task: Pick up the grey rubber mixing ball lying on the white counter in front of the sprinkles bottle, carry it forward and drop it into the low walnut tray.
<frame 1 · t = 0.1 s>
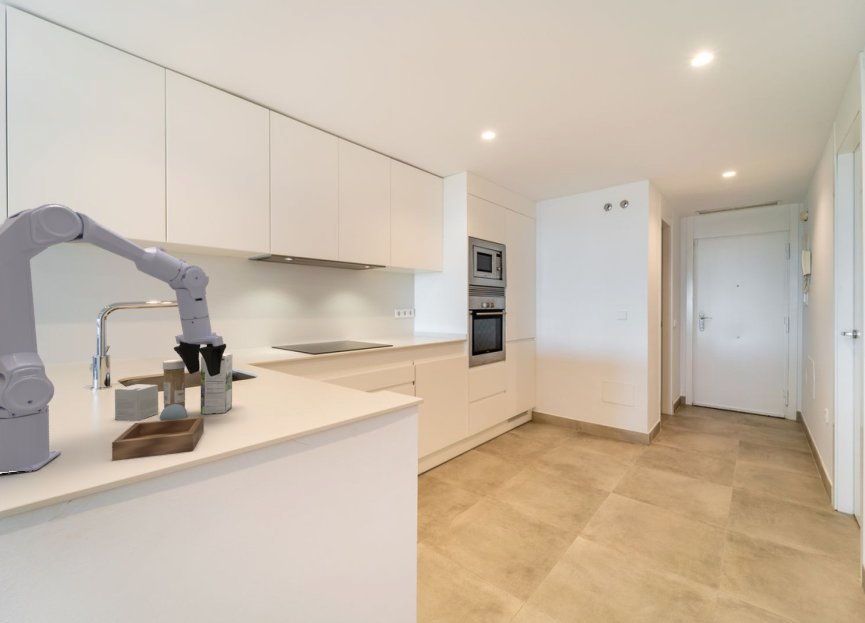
hand: (204, 373, 92), 10 cm above the counter, tool pointing down, fingers open, 7 cm apart
syrup box: (217, 411, 99), on the counter
skincare box: (137, 418, 93), on the counter
tray: (162, 444, 75), on the counter
sprinkles bottle: (174, 416, 94), on the counter
ball: (173, 427, 85), on the counter
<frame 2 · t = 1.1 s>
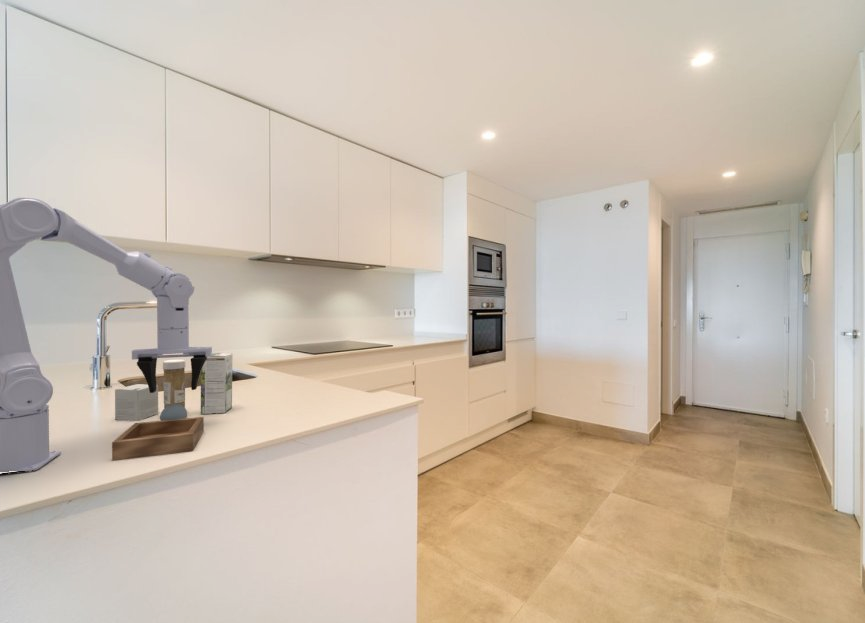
hand: (173, 390, 85), 8 cm above the counter, tool pointing down, fingers open, 7 cm apart
nothing on the counter moved.
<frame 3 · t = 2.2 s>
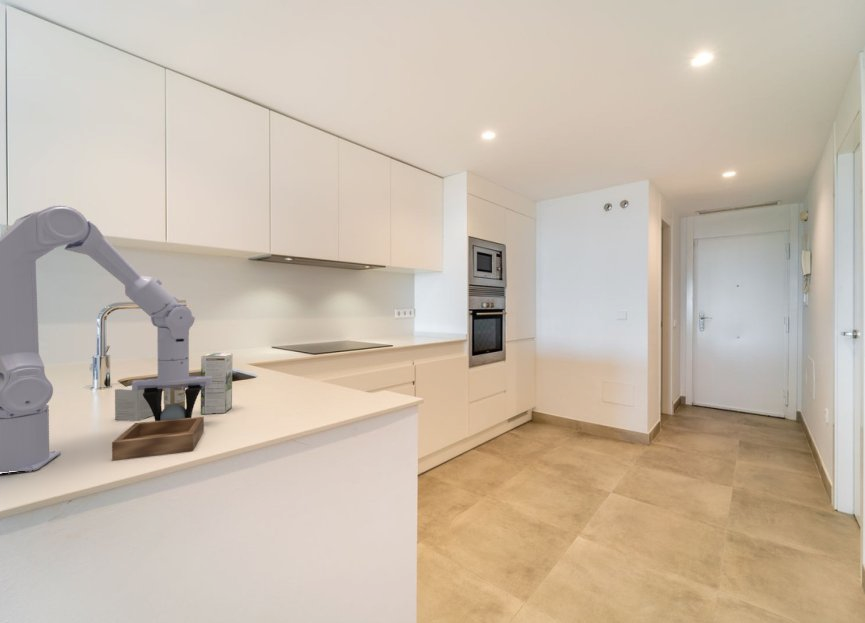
hand: (173, 420, 85), 1 cm above the counter, tool pointing down, fingers closed on ball, 5 cm apart
ball: (173, 427, 85), on the counter, touching gripper
everything else where it was.
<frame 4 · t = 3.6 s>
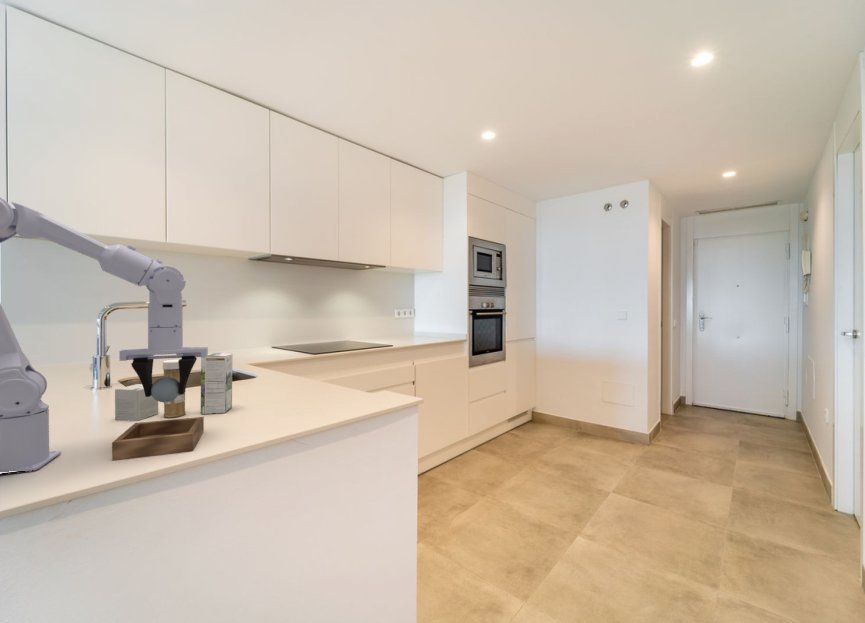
hand: (165, 394, 78), 9 cm above the counter, tool pointing down, fingers closed on ball, 5 cm apart
ball: (166, 401, 78), point 7 cm above the counter, touching gripper
everything else where it was.
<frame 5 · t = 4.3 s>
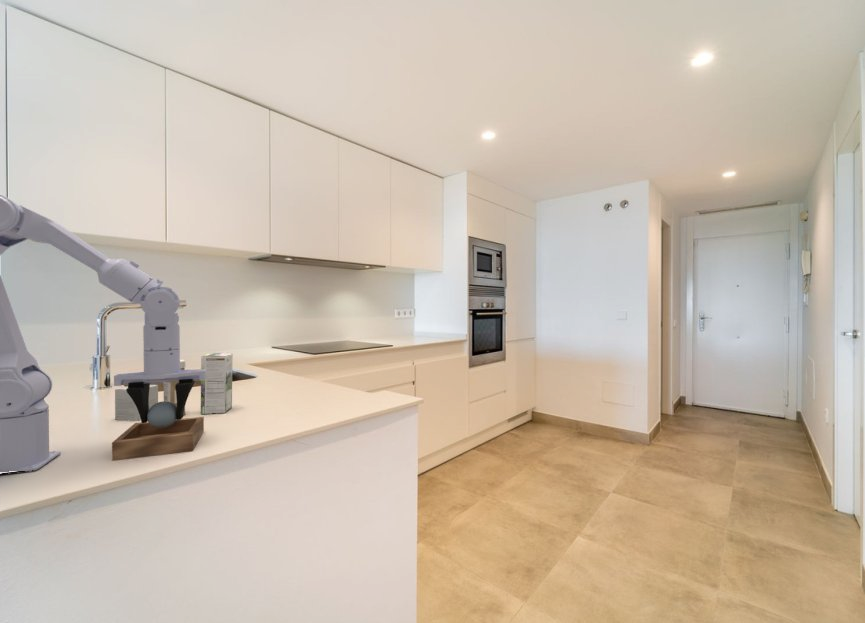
hand: (162, 419, 75), 5 cm above the counter, tool pointing down, fingers closed on ball, 5 cm apart
ball: (163, 427, 75), point 3 cm above the counter, touching gripper
everything else where it was.
when the fingers open (4 cm above the counter, at t = 4.9 s): ball drops 2 cm, resting on tray.
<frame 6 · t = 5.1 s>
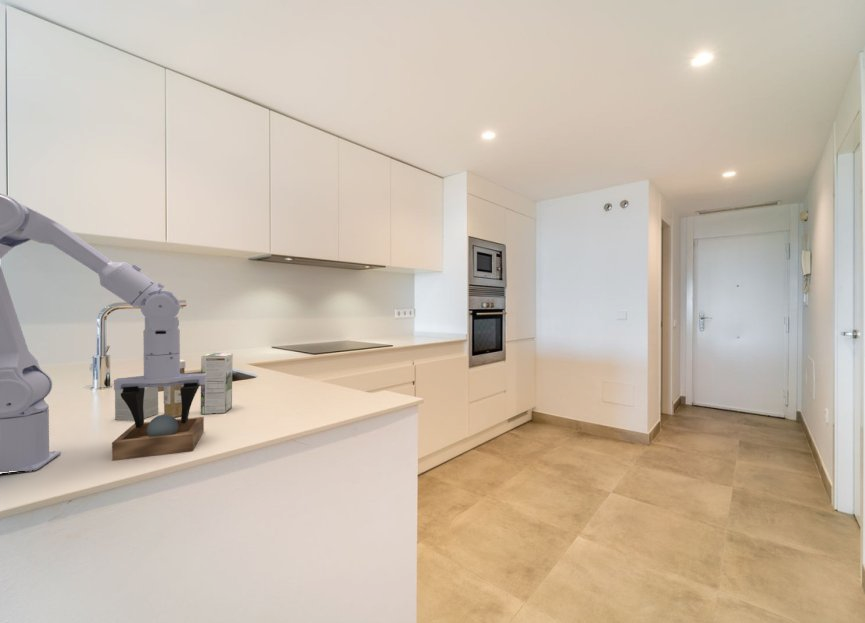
hand: (162, 424, 75), 4 cm above the counter, tool pointing down, fingers open, 7 cm apart
ball: (163, 440, 75), point 1 cm above the counter, touching tray
everything else where it was.
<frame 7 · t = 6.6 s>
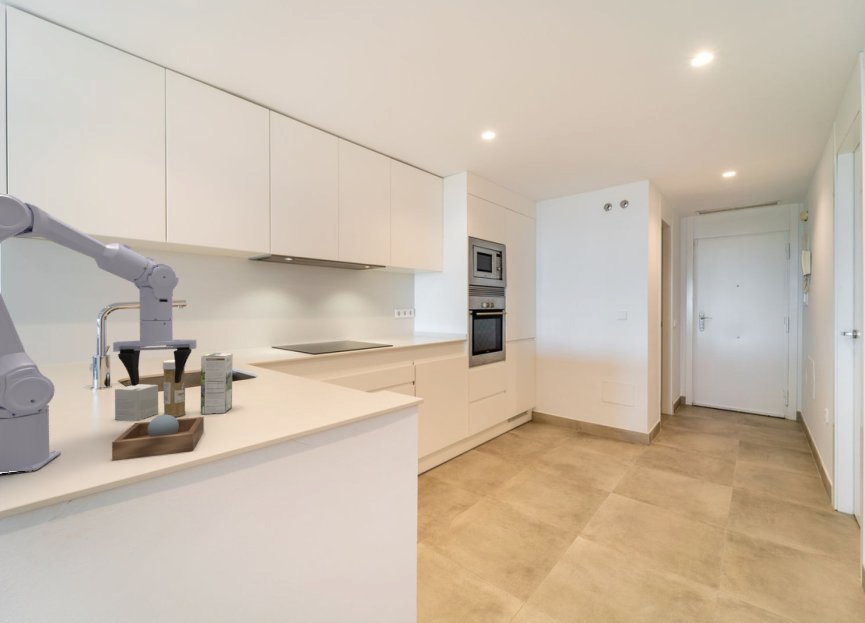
hand: (157, 383, 83), 10 cm above the counter, tool pointing down, fingers open, 7 cm apart
nothing on the counter moved.
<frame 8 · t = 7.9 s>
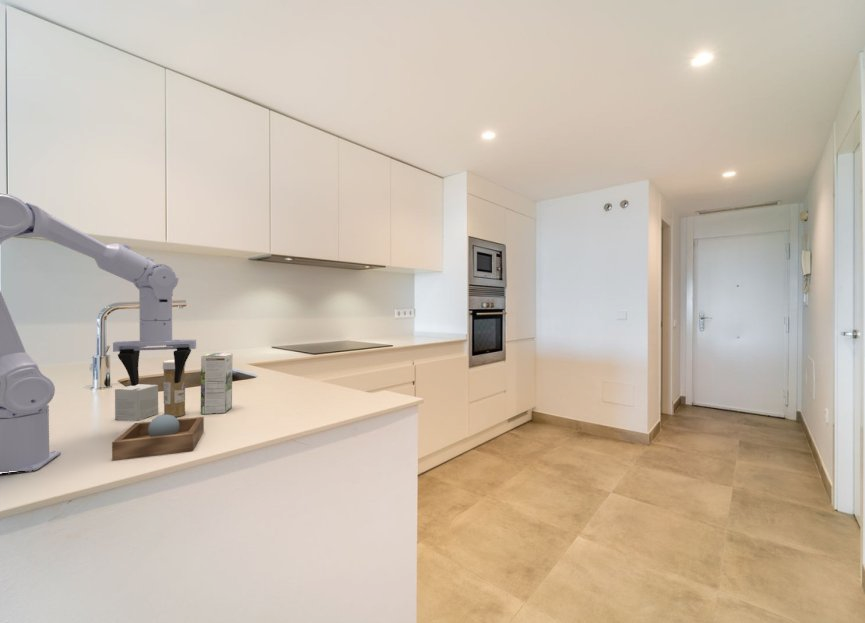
hand: (156, 383, 84), 10 cm above the counter, tool pointing down, fingers open, 7 cm apart
nothing on the counter moved.
at the end: ball inside the target area on the tray (0.1 cm from its centre), point 0.6 cm above the tray's base; ball point 0.6 cm above the counter; the gripper is holding nothing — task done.
